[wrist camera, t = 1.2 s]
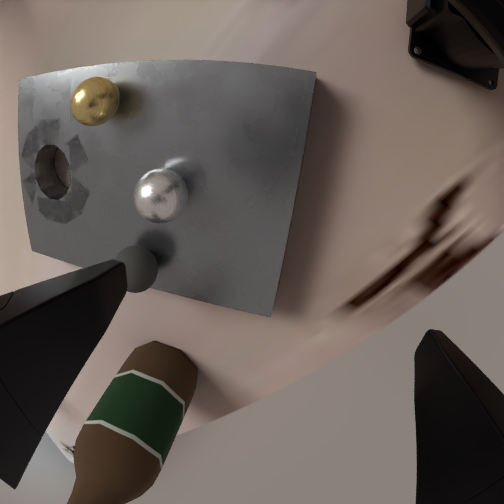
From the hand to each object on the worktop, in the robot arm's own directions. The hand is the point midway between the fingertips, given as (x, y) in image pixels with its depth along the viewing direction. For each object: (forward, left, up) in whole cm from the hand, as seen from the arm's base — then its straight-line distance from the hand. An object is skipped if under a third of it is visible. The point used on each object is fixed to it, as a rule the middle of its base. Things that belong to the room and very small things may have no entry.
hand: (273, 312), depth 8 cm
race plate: (+12, +1, -13) cm, 18 cm away
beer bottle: (+10, +21, -13) cm, 27 cm away
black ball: (+10, +6, -9) cm, 15 cm away
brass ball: (+13, -5, -9) cm, 16 cm away
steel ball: (+8, +1, -9) cm, 12 cm away
